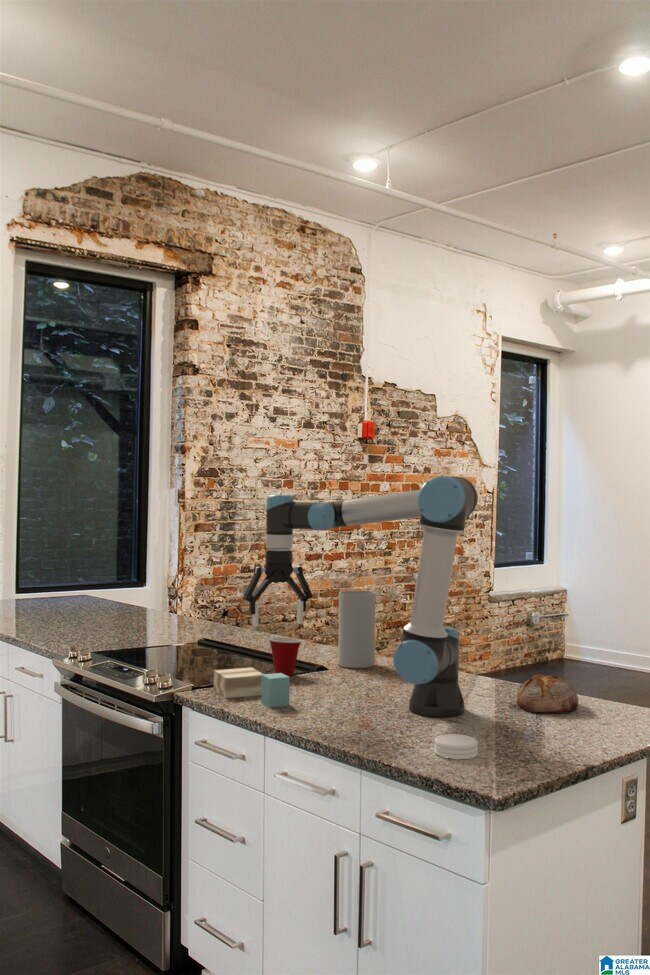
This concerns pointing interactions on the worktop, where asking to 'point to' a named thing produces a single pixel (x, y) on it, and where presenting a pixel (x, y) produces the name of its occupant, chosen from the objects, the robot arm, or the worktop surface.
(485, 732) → the worktop surface
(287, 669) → the plastic cup
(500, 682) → the worktop surface
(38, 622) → the worktop surface
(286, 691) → the teal block
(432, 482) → the robot arm
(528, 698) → the bread
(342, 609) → the cylinder vase
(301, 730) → the worktop surface
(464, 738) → the coaster
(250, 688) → the birch block
